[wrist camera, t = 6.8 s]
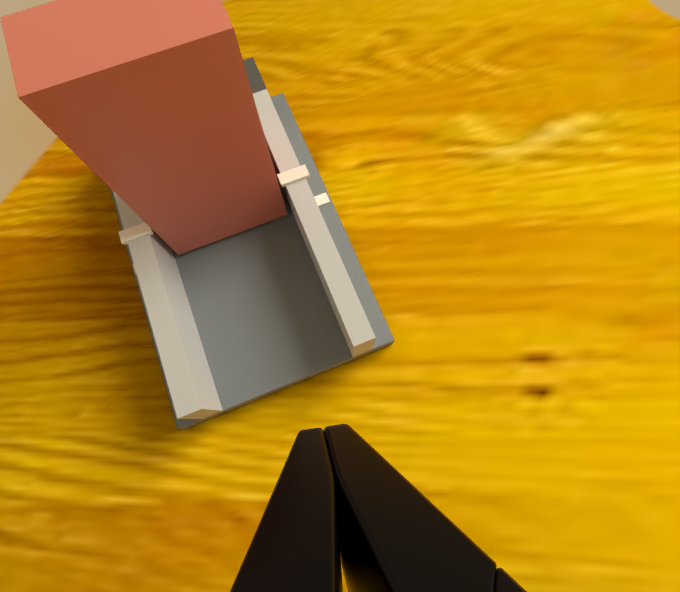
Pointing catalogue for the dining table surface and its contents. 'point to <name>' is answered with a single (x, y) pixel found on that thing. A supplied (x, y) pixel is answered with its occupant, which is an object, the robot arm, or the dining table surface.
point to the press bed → (256, 290)
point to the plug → (152, 109)
